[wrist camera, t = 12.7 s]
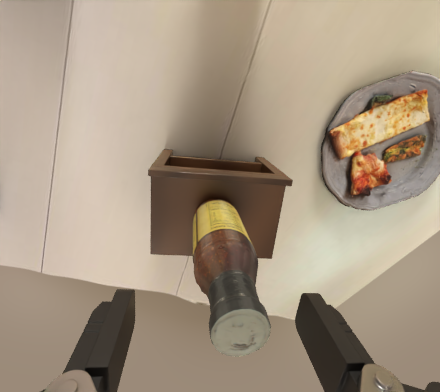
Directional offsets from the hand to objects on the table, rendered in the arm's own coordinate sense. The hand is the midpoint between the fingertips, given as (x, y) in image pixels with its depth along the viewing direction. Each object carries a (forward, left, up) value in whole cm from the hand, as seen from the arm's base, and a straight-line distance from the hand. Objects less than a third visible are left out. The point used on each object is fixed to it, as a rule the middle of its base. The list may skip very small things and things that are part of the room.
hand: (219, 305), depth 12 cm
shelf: (+2, -5, -35) cm, 36 cm away
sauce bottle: (+2, -5, -23) cm, 23 cm away
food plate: (+33, +5, -36) cm, 49 cm away
